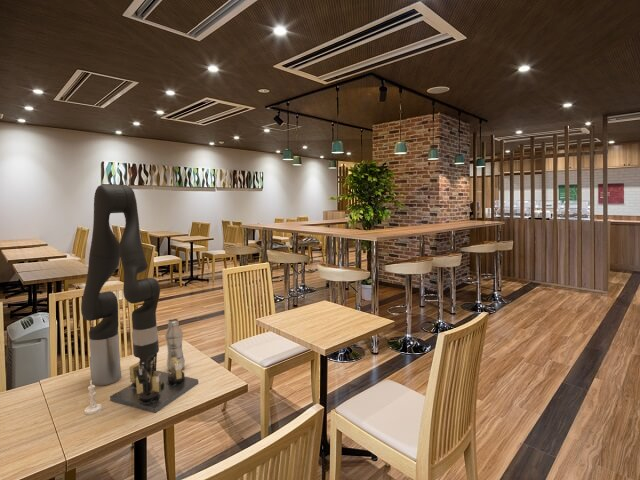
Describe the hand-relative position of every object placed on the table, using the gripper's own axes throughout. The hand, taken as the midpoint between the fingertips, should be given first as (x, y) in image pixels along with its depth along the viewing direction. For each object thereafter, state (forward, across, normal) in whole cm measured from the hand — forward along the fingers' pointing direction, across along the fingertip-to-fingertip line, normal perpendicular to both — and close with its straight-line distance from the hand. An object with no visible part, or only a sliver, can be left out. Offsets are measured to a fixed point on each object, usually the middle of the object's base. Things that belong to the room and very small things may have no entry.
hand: (149, 389), depth 122 cm
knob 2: (+3, 0, 0) cm, 3 cm away
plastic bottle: (+5, -24, +3) cm, 25 cm away
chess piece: (+5, +2, -17) cm, 17 cm away
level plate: (+4, -7, 0) cm, 8 cm away
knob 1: (+3, -10, -6) cm, 12 cm away
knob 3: (+3, -11, +6) cm, 13 cm away
